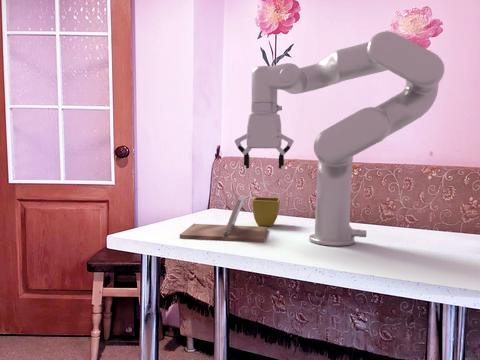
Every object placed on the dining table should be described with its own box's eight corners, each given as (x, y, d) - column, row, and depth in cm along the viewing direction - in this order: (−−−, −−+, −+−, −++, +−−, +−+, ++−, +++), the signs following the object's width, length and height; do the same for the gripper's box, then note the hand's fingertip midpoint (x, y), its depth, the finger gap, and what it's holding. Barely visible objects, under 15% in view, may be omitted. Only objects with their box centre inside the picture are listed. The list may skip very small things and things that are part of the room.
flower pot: (277, 228, 144) (278, 200, 143) (251, 226, 145) (252, 199, 144) (279, 223, 152) (280, 197, 152) (254, 222, 154) (255, 196, 153)
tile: (245, 195, 137) (242, 194, 137) (241, 200, 125) (237, 198, 125) (234, 225, 138) (230, 223, 138) (228, 232, 126) (224, 230, 126)
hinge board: (267, 230, 140) (267, 223, 139) (263, 242, 122) (263, 234, 122) (193, 226, 142) (193, 220, 142) (179, 238, 125) (179, 230, 124)
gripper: (293, 110, 131) (293, 168, 132) (236, 111, 133) (236, 167, 134) (294, 108, 123) (293, 169, 124) (233, 109, 125) (233, 168, 126)
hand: (263, 168), depth 129 cm, fingers open, 9 cm apart
